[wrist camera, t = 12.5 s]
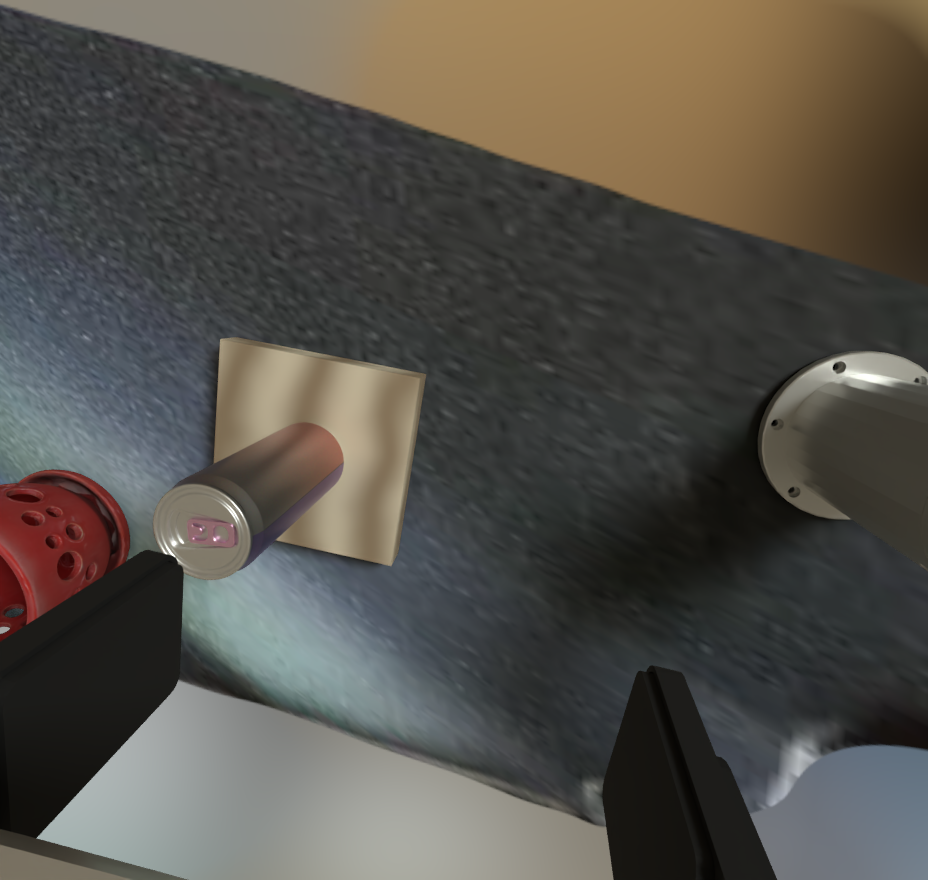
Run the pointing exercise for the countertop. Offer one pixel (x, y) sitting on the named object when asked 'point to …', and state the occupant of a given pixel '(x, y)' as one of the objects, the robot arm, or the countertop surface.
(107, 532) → the plant pot
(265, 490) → the beverage can
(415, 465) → the countertop surface
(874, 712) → the countertop surface
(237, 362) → the birch board
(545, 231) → the countertop surface
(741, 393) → the countertop surface
